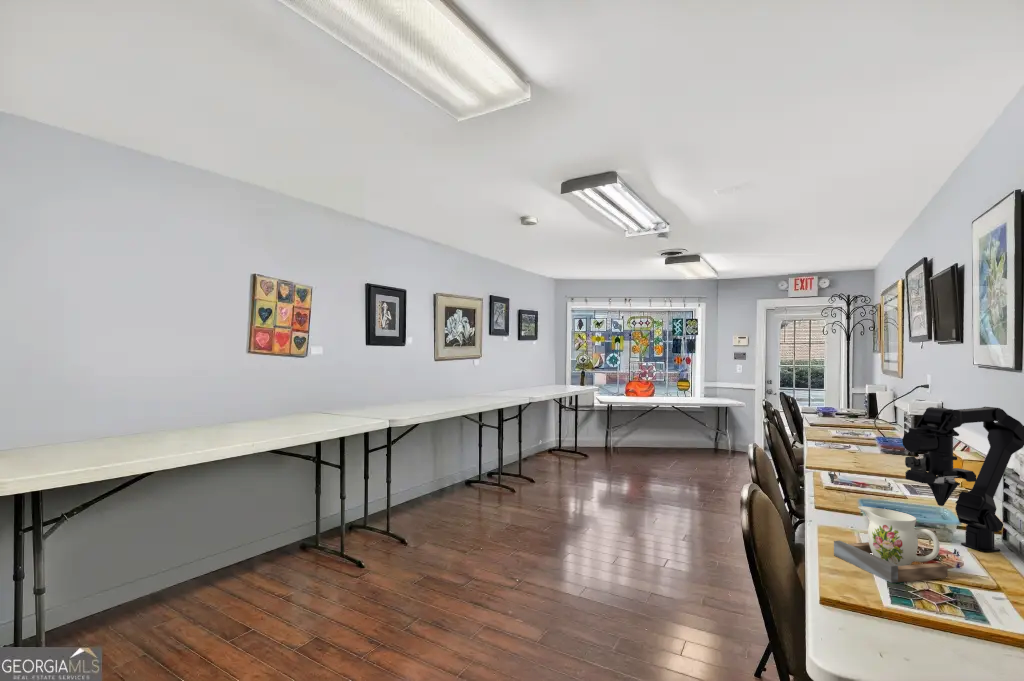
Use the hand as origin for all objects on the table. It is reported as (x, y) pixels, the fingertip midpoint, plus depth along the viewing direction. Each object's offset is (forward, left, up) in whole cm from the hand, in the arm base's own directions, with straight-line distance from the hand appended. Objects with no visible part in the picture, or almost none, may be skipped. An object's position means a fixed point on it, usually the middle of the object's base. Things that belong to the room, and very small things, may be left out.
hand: (940, 505), depth 155 cm
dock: (+25, +7, -13) cm, 29 cm away
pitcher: (+22, +7, -13) cm, 27 cm away
